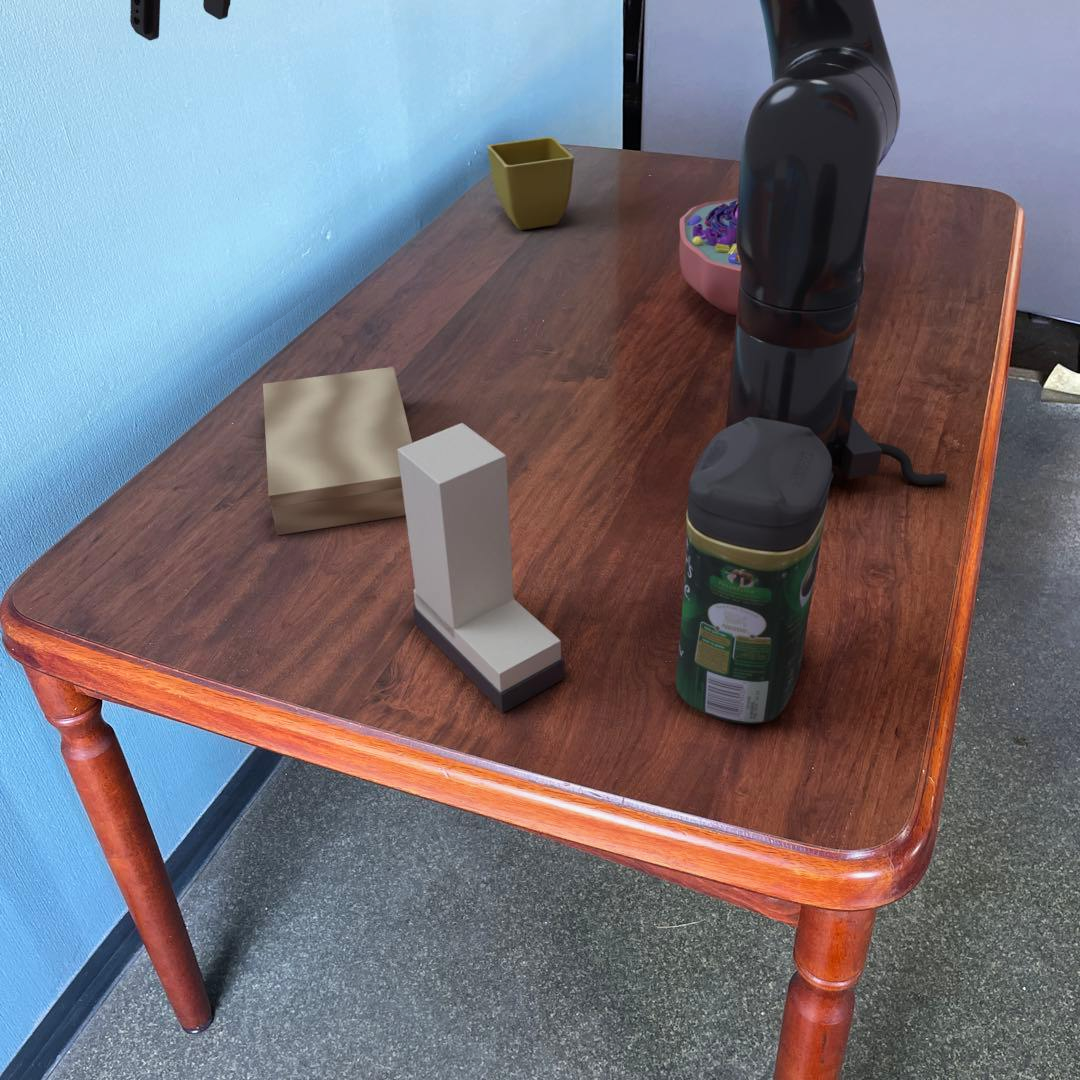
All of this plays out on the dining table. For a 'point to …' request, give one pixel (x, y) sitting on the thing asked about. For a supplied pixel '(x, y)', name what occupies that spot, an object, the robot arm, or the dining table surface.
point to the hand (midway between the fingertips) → (181, 25)
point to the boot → (472, 567)
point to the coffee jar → (750, 567)
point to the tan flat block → (334, 449)
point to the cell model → (712, 253)
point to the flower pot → (532, 180)
